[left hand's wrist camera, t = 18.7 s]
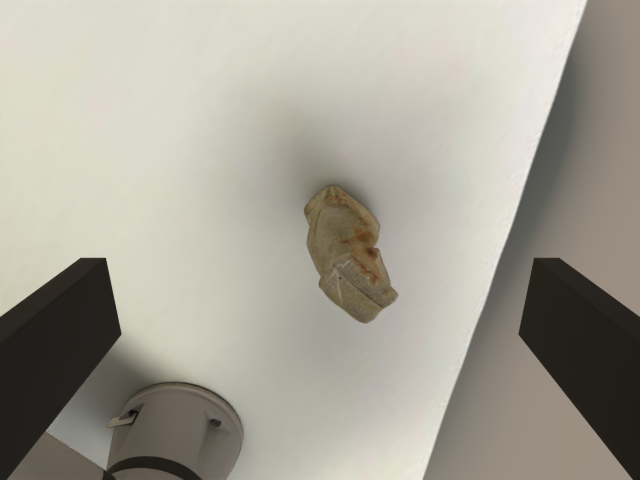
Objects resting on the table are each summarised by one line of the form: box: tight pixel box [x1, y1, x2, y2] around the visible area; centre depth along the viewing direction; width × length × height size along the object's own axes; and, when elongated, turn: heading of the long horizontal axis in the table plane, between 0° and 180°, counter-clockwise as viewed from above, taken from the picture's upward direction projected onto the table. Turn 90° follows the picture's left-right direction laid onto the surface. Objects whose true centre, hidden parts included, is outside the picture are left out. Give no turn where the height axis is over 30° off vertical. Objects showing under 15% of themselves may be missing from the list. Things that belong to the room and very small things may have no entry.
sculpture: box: [304, 185, 398, 323], centre depth 33 cm, size 6×7×15 cm
